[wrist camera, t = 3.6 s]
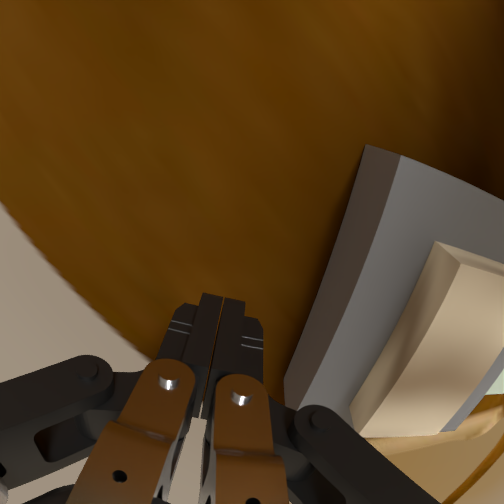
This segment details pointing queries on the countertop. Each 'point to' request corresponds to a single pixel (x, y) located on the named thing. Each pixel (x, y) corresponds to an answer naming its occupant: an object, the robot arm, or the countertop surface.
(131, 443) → the robot arm
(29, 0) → the countertop surface
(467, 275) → the tile
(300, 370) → the grey flat block
